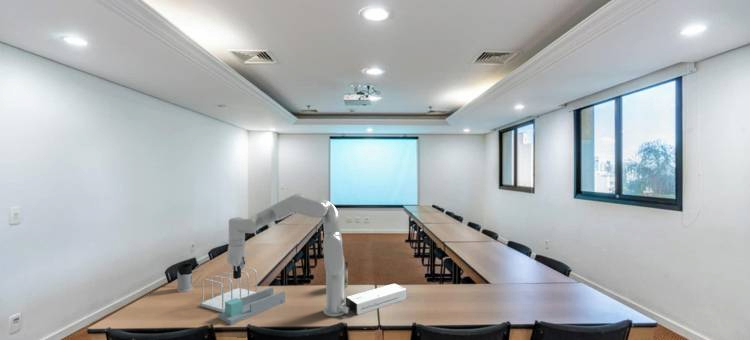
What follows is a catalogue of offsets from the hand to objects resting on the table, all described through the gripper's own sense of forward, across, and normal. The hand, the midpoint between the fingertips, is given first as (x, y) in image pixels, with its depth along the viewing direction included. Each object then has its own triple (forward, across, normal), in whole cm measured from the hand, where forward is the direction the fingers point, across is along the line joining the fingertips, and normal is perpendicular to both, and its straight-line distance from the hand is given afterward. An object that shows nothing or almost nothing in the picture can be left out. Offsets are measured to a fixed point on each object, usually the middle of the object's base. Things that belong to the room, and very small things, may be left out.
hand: (237, 277), depth 167 cm
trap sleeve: (+20, 0, +9) cm, 21 cm away
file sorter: (+20, -20, +8) cm, 30 cm away
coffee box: (+19, +17, +58) cm, 64 cm away
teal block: (+18, 0, -2) cm, 18 cm away
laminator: (+20, +48, +55) cm, 75 cm away
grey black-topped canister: (+20, -58, +3) cm, 61 cm away
